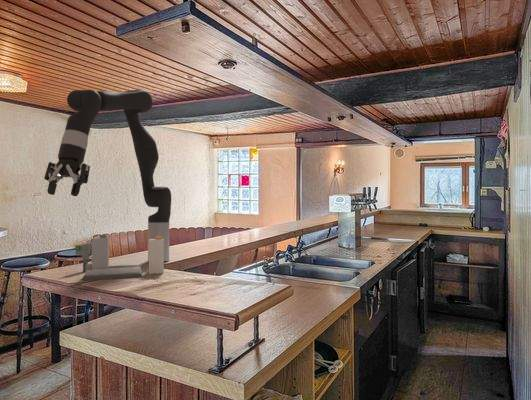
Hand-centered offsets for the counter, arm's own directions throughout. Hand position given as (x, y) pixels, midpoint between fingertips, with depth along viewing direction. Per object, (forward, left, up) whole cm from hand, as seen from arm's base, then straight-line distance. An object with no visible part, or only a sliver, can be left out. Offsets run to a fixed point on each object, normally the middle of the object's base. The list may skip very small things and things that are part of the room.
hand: (62, 195), depth 121 cm
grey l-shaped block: (-8, +15, -27) cm, 32 cm away
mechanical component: (-22, +4, -28) cm, 35 cm away
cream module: (-11, +29, -27) cm, 41 cm away
